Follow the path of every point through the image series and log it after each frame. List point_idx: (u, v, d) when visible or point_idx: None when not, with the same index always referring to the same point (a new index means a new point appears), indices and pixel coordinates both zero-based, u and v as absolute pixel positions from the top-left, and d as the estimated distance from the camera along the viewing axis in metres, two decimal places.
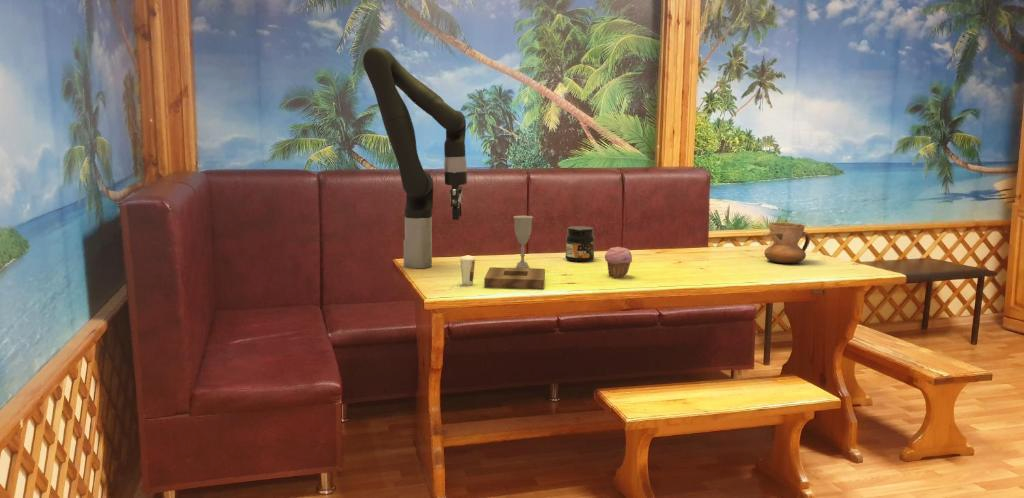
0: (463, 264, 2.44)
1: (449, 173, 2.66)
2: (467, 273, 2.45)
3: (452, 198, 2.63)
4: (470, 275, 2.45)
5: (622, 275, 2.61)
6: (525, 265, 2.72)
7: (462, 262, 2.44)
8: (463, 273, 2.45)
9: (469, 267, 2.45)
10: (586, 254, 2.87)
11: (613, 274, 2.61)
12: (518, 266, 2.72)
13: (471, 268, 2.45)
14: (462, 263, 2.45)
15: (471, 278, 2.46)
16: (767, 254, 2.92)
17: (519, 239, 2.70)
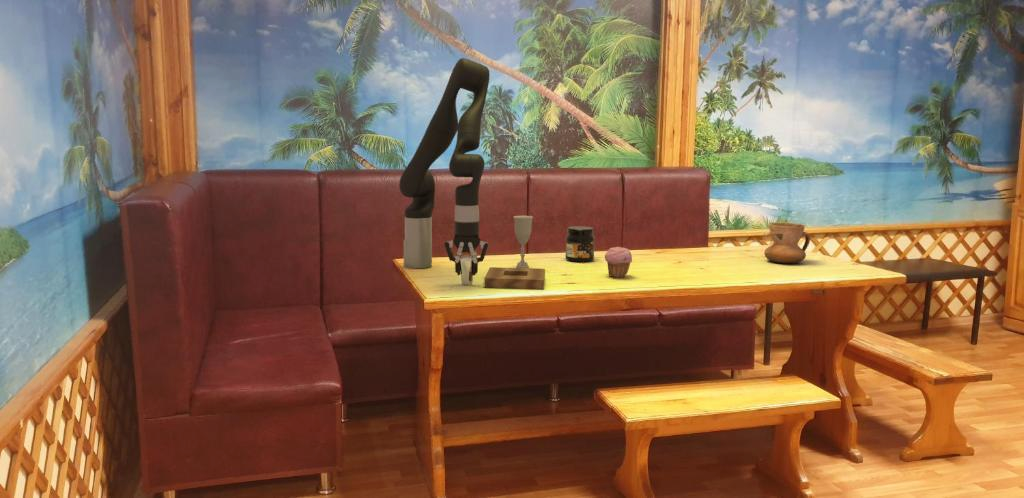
0: (462, 264, 2.44)
1: (477, 223, 2.42)
2: (466, 273, 2.45)
3: (485, 252, 2.44)
4: (470, 275, 2.45)
5: (622, 275, 2.61)
6: (525, 265, 2.72)
7: (461, 262, 2.44)
8: (462, 273, 2.45)
9: (468, 267, 2.45)
10: (586, 254, 2.87)
11: (613, 274, 2.61)
12: (518, 266, 2.72)
13: (470, 268, 2.45)
14: (461, 263, 2.45)
15: (470, 278, 2.46)
16: (767, 254, 2.92)
17: (519, 239, 2.70)
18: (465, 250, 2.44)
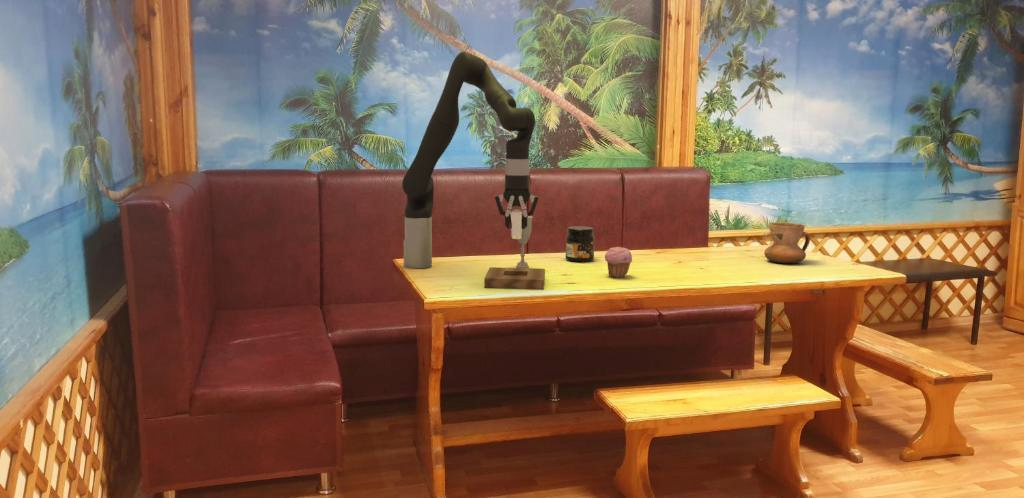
0: (512, 218, 2.46)
1: (527, 176, 2.44)
2: (516, 226, 2.47)
3: (535, 206, 2.46)
4: (520, 228, 2.47)
5: (622, 275, 2.61)
6: (525, 265, 2.72)
7: (511, 216, 2.46)
8: (512, 227, 2.47)
9: (518, 221, 2.46)
10: (586, 254, 2.87)
11: (613, 274, 2.61)
12: (518, 266, 2.72)
13: (520, 221, 2.47)
14: (511, 217, 2.46)
15: (520, 231, 2.47)
16: (767, 254, 2.92)
17: (519, 239, 2.70)
18: (515, 204, 2.46)
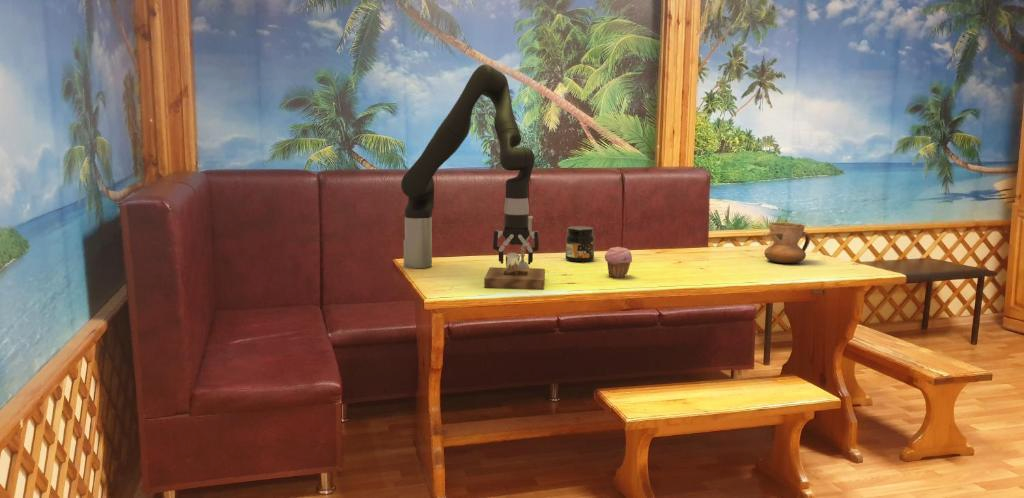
0: (508, 261, 2.48)
1: (527, 215, 2.46)
2: (512, 270, 2.49)
3: (538, 241, 2.48)
4: (515, 272, 2.49)
5: (622, 275, 2.61)
6: (525, 265, 2.72)
7: (508, 259, 2.48)
8: (508, 270, 2.49)
9: (514, 265, 2.49)
10: (586, 254, 2.87)
11: (613, 274, 2.61)
12: None
13: (516, 265, 2.49)
14: (507, 260, 2.48)
15: (516, 275, 2.50)
16: (767, 254, 2.92)
17: None
18: (515, 242, 2.48)
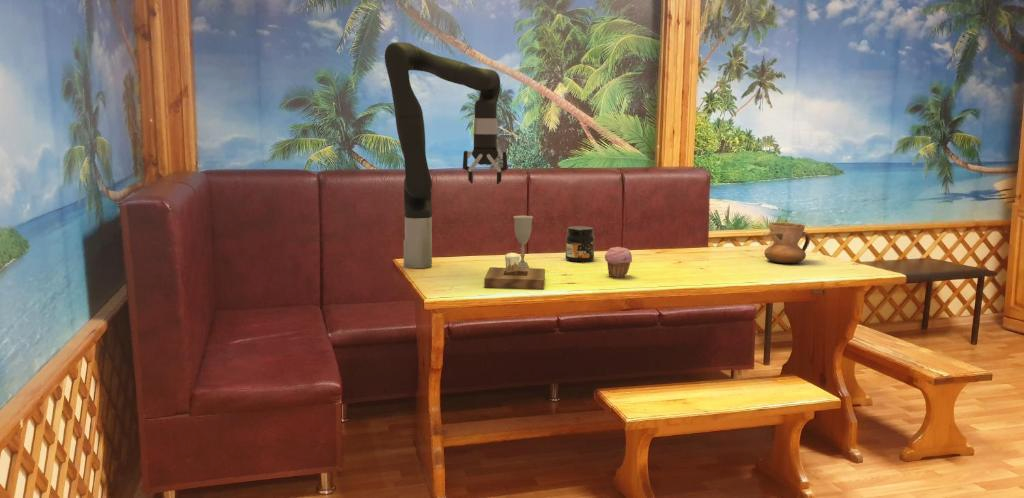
0: (508, 261, 2.48)
1: (495, 135, 2.53)
2: (512, 270, 2.49)
3: (506, 161, 2.55)
4: (515, 272, 2.49)
5: (622, 275, 2.61)
6: (525, 265, 2.72)
7: (507, 259, 2.48)
8: (508, 270, 2.49)
9: (514, 265, 2.49)
10: (586, 254, 2.87)
11: (613, 274, 2.61)
12: None
13: (516, 265, 2.49)
14: (507, 260, 2.49)
15: (516, 275, 2.50)
16: (767, 254, 2.92)
17: (519, 239, 2.70)
18: (484, 162, 2.56)
